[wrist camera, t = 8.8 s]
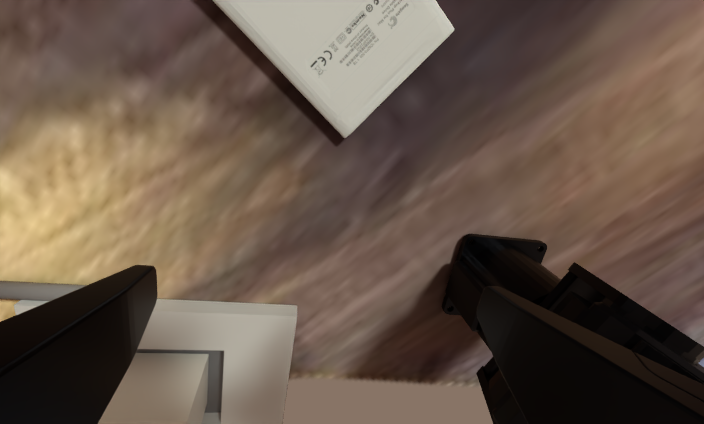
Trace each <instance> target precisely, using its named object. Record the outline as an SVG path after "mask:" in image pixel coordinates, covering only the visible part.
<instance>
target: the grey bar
mask: <svg viewBox="0 0 704 424" xmlns="http://www.w3.org/2000/svg"><path fill="white" fill-rule="evenodd" d="M85 286H87V285H72V284H52V283H33V282H14V281H0V299H16V300H39V301H51V300H54V299H56V298H58V297H61V296H63V295H66V294H68V293H70V292H73V291H75V290H77V289H80V288H82V287H85Z"/></svg>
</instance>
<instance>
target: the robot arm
mask: <svg viewBox="0 0 704 424" xmlns="http://www.w3.org/2000/svg"><path fill="white" fill-rule="evenodd" d="M470 240H473V241H472V242H471V243H469V241H470ZM539 247H540V248H539ZM538 248H539V249H538ZM546 250H547V245H546V244H545V243H543V242H542V241H538V240H528V239H518V238H508V237H498V236H488V235H478V234H468V235H466V236H465V237H464V238H463V241H462V244H461V247H460V250H459V253H458V257H457V260H456V262H455V263H454V266H453V269H452V272H451V275H450V278H449V282H448V285H447V288H446V291H445V292H446V295H445V298H444V301H443V304H442V309H443V310H444V312H445V313H446V314H449V315H461V316H462V317H463V318H464V320H465V321H466V323H467V324H468V325H469V327H470V328H471V330H472V331H474V332H478V334H479V335H480V336H481V338H482V339H483V341H484V342H485V343H486V345H487V346H488V348H489V349H490V350H491V352H492V354H493V357H492V358H491V360H490V361H489V362H488V363H487V364H486V365H485V366H482V367H481V368H480V369H479V370H478V372H477V376H478V379H479V382H480V385H481V388H482V391H483V394H484V397H485V400H486V403H487V406H488V409H489V412H490V415H491V418H492V421H493V424H704V367H702V366H701V365H700V364H698V363H699V362H700V360H701V359H702V358H704V347H703V346H702V345H700V344H699V343H697V342H695V341H694V340H692V339H691V338H689V337H688V336H686V335H685V334H683V333H682V332H680V331H679V330H677V329H676V328H674V327H673V326H671V325H670V324H668V323H666V322H665V321H663V320H662V319H660V318H659V317H657V316H656V315H654V314H653V313H651V312H650V311H648V310H647V309H645V308H644V307H642V306H641V305H639V304H637V303H636V302H634V301H633V300H631V299H630V298H628V297H627V296H625V295H624V294H622V293H621V292H619V291H618V290H616V289H615V288H613V287H611V286H610V285H608V284H607V283H605V282H604V281H602V280H601V279H599V278H598V277H596V276H595V275H593V274H592V273H590V272H589V271H587V270H585V269H584V268H582V267H581V266H579V265H578V264H576V263H575V262H574V263H573V264H572V265H571V266H570V268H569V269H568V270H569V272H568V273H567V274H566V275H565V276H564V277H563V278H562V280H561V279H559V278H558V277H557V276H556V275H554V274H553V273H552V272H550V271H549V270H548V269H546V268H545V267H544V266H542V265H541V262H542V260H543V257H544V255H545V252H546ZM156 301H157V275H156V269H155V267H154V266H147V265H135V266H132V267H130V268H127V269H125V270H123V271H120V272H118V273H116V274H113V275H111V276H108V277H106V278H104V279H101V280H99V281H97V282H94V283H92V284H89V285H87V286H85V287H82V288H80V289H77V290H75V291H73V292H70V293H68V294H66V295H63V296H61V297H58V298H56V299H54V300H51V301H49V302H47V303H44V304H42V305H39V306H37V307H35V308H32V309H30V310H27V311H25V312H23V313H20V314H18V315H16V316H13V317H11V318H8V319H6V320H4V321H1V322H0V424H98V422H99V421H100V419H101V417H102V415H103V413H104V412H105V410H106V408H107V406H108V404H109V403H110V401H111V399H112V397H113V395H114V394H115V392H116V390H117V388H118V386H119V384H120V383H121V381H122V379H123V377H124V375H125V374H126V372H127V370H128V368H129V366H130V364H131V362H132V360H133V358H134V356H135V353H136V351H137V349H138V346H139V344H140V341H141V339H142V336H143V334H144V332H145V329H146V327H147V324H148V322H149V319H150V317H151V314H152V312H153V310H154V307H155V305H156ZM450 306H451V307H450ZM448 307H450V308H448Z"/></svg>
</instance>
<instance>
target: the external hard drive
mask: <svg viewBox="0 0 704 424" xmlns="http://www.w3.org/2000/svg"><path fill="white" fill-rule="evenodd" d="M213 1H214V3H215V4H216V5H217V6H218V7H219V8H220V9H221V10H222V11H223V12H224V13H225V14H226V15H227V16H228V17H229V18H230V19H231V20H232V21H233V22H234V23H235V24H236V26H237V27H238V28H239V29H240V30H241V31H242V32H243V33H244V34H245V35H246V36H247V37H248V38H249V39H250V40H251V41H252V42H253V43H254V44H255V45H256V46H257V48H258V49H259V50H260V51H261V52H262V53H263V54H264V55H265V56H266V57H267V58H268V59H269V60H270V61H271V62H272V63H273V64H274V65H275V66H276V67H277V68H278V69H279V71H280V72H281V73H282V74H283V75H284V76H285V77H286V78H287V79H288V80H289V81H290V82H291V83H292V84H293V85H294V86H295V87H296V88H297V89H298V90H299V91H300V93H301V94H302V95H303V96H304V97H305V98H306V99H307V100H308V101H309V102H310V103H311V104H312V105H313V106H314V107H315V108H316V109H317V110H318V111H319V112H320V113H321V114H322V115H323V117H324V118H325V119H326V120H327V121H328V122H329V123H330V124H331V125H332V126H333V127H334V128H335V129H336V130H337V131H338V132H339V133H340V134H341V135H342V136H343V138H346V137H347V136H349V135H350V134H351V133H352V132H353V131H354V130H355V129H356V128H357V127H358V126H359V125H360V124H361V123H362V122H363V121H364V120H365V119H366V118H367V117H368V116H369V115H370V114H371V113H372V112H373V111H374V110H375V109H376V108H377V107H378V106H379V105H380V104H381V103H382V102H383V101H384V100H385V99H386V98H387V97H388V96H389V95H390V94H391V93H392V92H393V91H394V90H395V89H396V88H397V87H398V86H399V85H400V84H401V83H402V82H403V81H404V80H405V79H406V78H407V77H408V76H409V75H410V74H411V73H412V72H413V71H414V70H415V69H416V68H417V67H418V66H419V65H420V64H421V63H422V62H423V61H424V60H425V59H426V58H427V57H428V56H429V55H430V54H431V53H432V52H433V51H434V50H435V49H436V48H437V47H438V46H439V45H440V44H441V43H442V42H444V41H445V40H446V39H447V38H448V37H449V35H450V34H451V33H452V32H453V31H454V27H453V26H452V24H451V23H450V21H449V20H448V18H447V17H446V15H445V14H444V12H443V11H442V10H441V8H440V7H439V5H438V3H437V2H436V0H213Z"/></svg>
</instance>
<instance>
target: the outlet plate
mask: <svg viewBox="0 0 704 424" xmlns="http://www.w3.org/2000/svg"><path fill="white" fill-rule="evenodd" d="M47 302H49V301H39V300H20V301H19V302H17V303H16V304H15V305H14V309H15V313H16V315H18V314H20V313H23V312H25V311H27V310H30V309H32V308H35V307H37V306H39V305H42V304H44V303H47ZM296 321H297V305H279V304H258V303H236V302H214V301H192V300H171V299H157V301H156V305H155V307H154V310H153V312H152V314H151V317H150V319H149V322H148V324H147V327H146V329H145V332H144V334H143V336H142V339H141V341H140V344H139V346H138V349H137V351H136V353H181V354H209V360H208V394H207V405H206V409H205V412H204V416H203V419H202V423H201V424H282V422H283V415H284V408H285V401H286V393H287V386H288V379H289V372H290V365H291V357H292V350H293V343H294V335H295V328H296ZM136 353H135V354H136Z"/></svg>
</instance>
